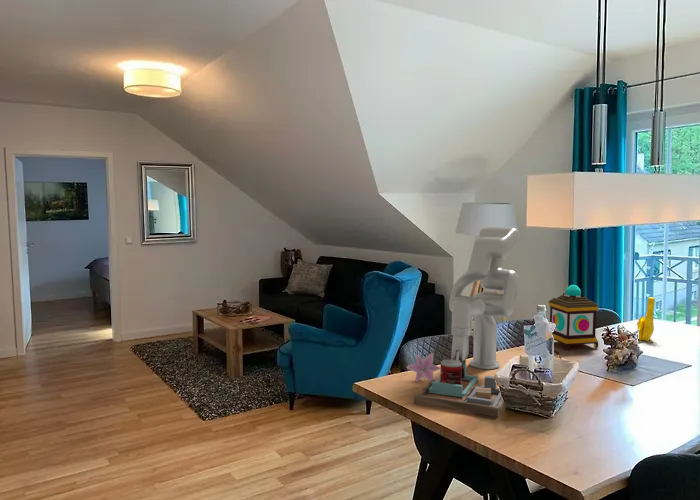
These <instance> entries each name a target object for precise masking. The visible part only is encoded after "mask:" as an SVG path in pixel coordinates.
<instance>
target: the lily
mask: <svg viewBox="0 0 700 500" xmlns="http://www.w3.org/2000/svg"><path fill="white" fill-rule="evenodd" d="M434 356H435V355H434V352H431V353H430V354H428V355H426V356H425V357H424V358H423V357H421V356H420V355H418V354H415V361H416V362H413V363H412V364H408V365H407V366H406V369H407V370H410V371H412V372H414V373H416V374H415V382H419V381H420V380H423V378H425V379H426V380H427V381H428V382H430V381H431V380H435V377H434V372H436V371H440V370H441V366H437V365H435V364H434Z"/></svg>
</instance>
